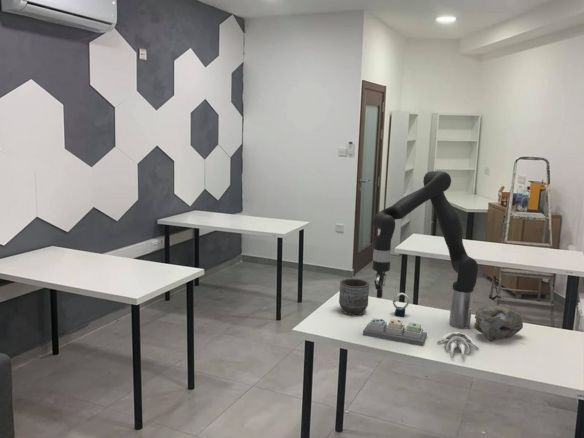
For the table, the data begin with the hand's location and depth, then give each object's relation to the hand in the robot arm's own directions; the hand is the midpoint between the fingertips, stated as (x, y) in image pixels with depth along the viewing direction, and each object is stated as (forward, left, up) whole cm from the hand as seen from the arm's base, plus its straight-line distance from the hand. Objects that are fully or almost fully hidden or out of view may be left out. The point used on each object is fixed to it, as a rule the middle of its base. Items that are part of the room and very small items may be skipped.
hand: (379, 297), depth 227 cm
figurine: (-34, +1, -17) cm, 38 cm away
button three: (0, 0, -15) cm, 15 cm away
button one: (-16, 0, -14) cm, 21 cm away
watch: (-5, -27, -17) cm, 32 cm away
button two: (-8, 0, -14) cm, 16 cm away
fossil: (-49, -20, -17) cm, 55 cm away
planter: (+17, -21, -17) cm, 32 cm away
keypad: (-8, 0, -17) cm, 18 cm away
